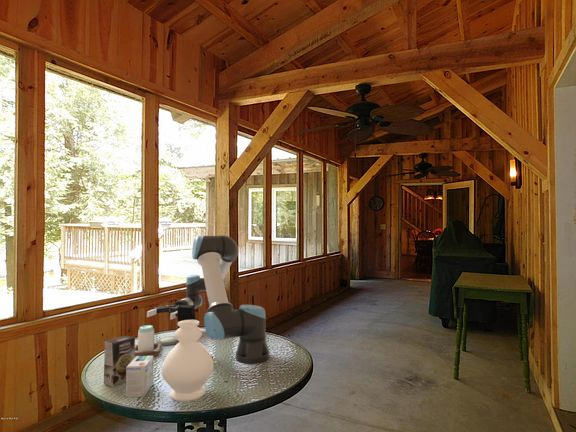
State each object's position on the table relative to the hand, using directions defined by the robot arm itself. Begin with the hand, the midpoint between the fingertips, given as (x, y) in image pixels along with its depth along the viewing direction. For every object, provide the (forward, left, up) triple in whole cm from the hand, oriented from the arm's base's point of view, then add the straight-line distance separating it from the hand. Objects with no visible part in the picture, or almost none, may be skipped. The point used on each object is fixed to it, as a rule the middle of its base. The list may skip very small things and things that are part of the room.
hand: (159, 315), depth 184 cm
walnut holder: (-9, +5, -15) cm, 18 cm away
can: (-9, +5, -15) cm, 18 cm away
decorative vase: (-57, -16, -15) cm, 61 cm away
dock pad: (+5, -4, -15) cm, 16 cm away
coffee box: (-41, +10, -15) cm, 45 cm away
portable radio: (-17, -14, -15) cm, 27 cm away
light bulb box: (-51, +1, -15) cm, 53 cm away
